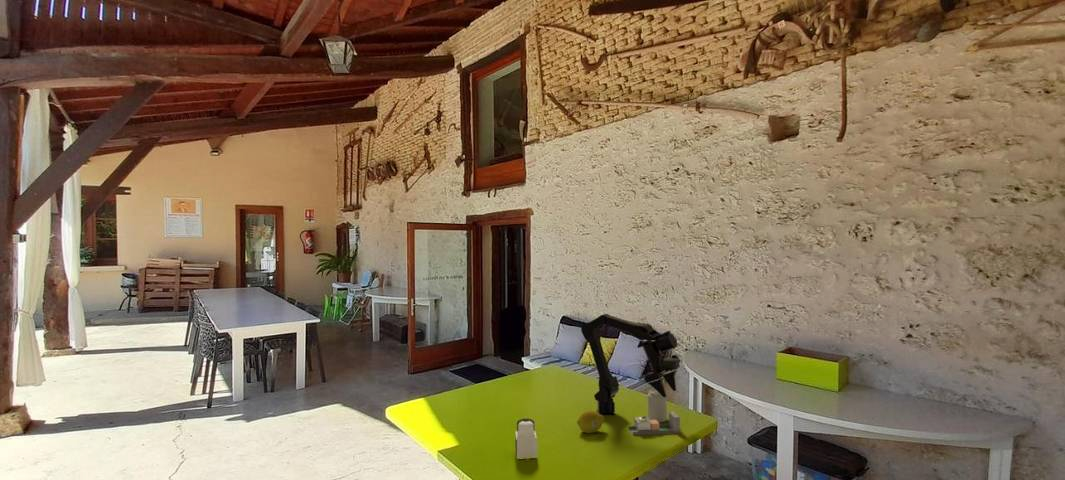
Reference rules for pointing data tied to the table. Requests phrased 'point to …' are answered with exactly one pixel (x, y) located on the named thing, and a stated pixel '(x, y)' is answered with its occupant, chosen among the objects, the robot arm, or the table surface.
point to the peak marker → (655, 425)
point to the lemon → (590, 421)
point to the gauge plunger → (642, 424)
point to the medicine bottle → (525, 439)
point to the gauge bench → (662, 426)
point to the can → (657, 406)
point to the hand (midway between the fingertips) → (670, 393)
